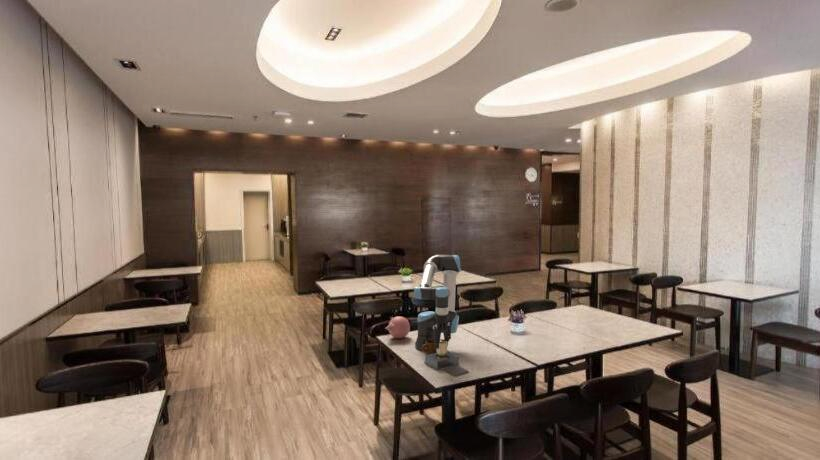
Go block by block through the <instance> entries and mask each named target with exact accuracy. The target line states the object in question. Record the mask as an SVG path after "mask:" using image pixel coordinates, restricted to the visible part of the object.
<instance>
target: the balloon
mask: <svg viewBox="0 0 820 460" xmlns="http://www.w3.org/2000/svg"><path fill="white" fill-rule="evenodd" d="M384 329H385V330H387V331H388V333H389V334H390V335H391V337H393V338H395V339H399V340H400V339H403V338H405V337H406V336H408V334H409V332H410V330H411V325H410V322H409V320H408V319H407V318H406V317H404V316H400V315H399V316H395V317H392V319H390V321H389V322H388V325H387V326H386V327H385V328H384Z"/></svg>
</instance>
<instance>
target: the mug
mask: <svg viewBox="0 0 820 460" xmlns="http://www.w3.org/2000/svg"><path fill="white" fill-rule="evenodd" d="M424 347H425V349H424ZM421 352H423V353H425V355H428V354H432V353H436V352H437V348H436V343H435V342H433V340H426V342H425V344H423V345H422V351H421ZM425 355H424V356H425Z"/></svg>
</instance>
